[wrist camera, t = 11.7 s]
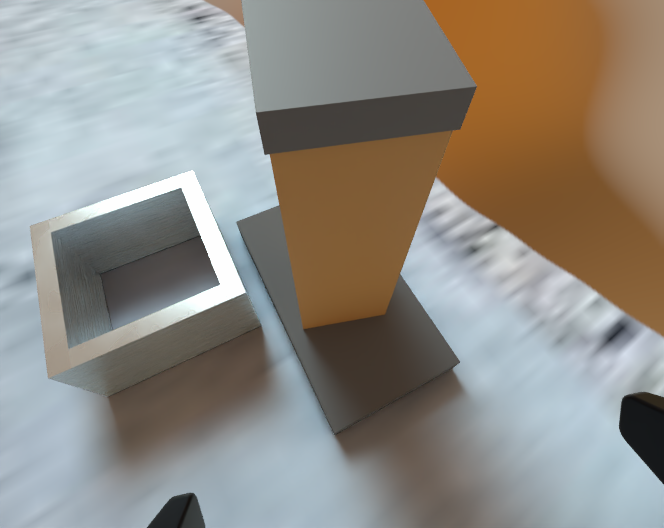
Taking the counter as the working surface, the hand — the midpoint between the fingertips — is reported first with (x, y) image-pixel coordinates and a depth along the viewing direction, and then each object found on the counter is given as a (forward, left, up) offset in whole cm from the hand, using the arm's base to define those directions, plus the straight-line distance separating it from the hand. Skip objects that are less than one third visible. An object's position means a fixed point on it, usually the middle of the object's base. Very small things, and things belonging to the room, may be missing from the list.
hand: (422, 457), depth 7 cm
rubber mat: (+8, -2, -9) cm, 12 cm away
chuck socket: (+12, +6, -9) cm, 16 cm away
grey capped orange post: (+8, -2, -8) cm, 11 cm away
